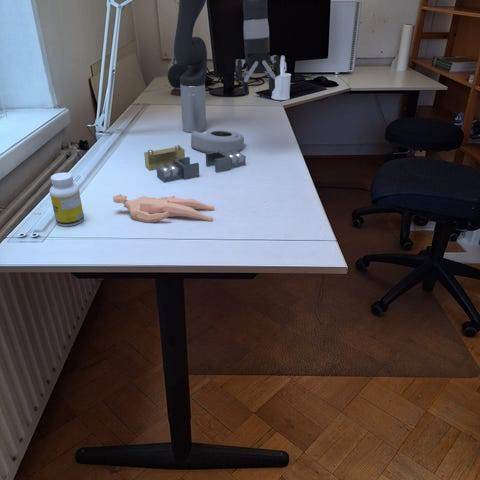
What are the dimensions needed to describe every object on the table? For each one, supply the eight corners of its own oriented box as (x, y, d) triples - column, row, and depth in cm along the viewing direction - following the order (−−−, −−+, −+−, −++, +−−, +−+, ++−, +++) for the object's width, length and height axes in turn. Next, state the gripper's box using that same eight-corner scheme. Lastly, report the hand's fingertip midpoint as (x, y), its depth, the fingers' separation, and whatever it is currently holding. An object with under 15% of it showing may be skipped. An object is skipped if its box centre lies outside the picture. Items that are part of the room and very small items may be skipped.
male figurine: (212, 213, 105) (106, 202, 104) (211, 232, 107) (107, 221, 107) (216, 195, 114) (119, 184, 113) (214, 212, 116) (119, 202, 116)
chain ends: (155, 175, 133) (154, 163, 131) (235, 159, 146) (235, 147, 144) (165, 183, 127) (164, 170, 125) (247, 166, 140) (247, 154, 138)
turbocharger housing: (252, 151, 157) (223, 142, 166) (253, 133, 154) (224, 124, 163) (216, 159, 146) (188, 148, 155) (217, 140, 143) (188, 130, 152)
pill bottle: (60, 215, 110) (50, 171, 104) (87, 214, 110) (79, 170, 104) (53, 227, 104) (42, 181, 98) (81, 227, 105) (72, 181, 99)
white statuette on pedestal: (272, 95, 229) (274, 54, 219) (290, 96, 228) (292, 54, 218) (270, 100, 220) (272, 57, 210) (289, 101, 219) (292, 57, 209)
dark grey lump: (169, 91, 236) (167, 61, 229) (193, 90, 237) (192, 61, 230) (168, 96, 225) (166, 65, 217) (194, 96, 226) (193, 65, 219)
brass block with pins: (145, 167, 139) (143, 149, 136) (180, 161, 144) (179, 144, 141) (149, 171, 136) (147, 153, 133) (185, 164, 142) (184, 147, 139)
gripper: (272, 34, 137) (274, 88, 145) (229, 38, 133) (233, 94, 141) (283, 34, 131) (284, 91, 139) (238, 39, 127) (242, 97, 134)
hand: (258, 92), depth 140 cm, fingers open, 8 cm apart
